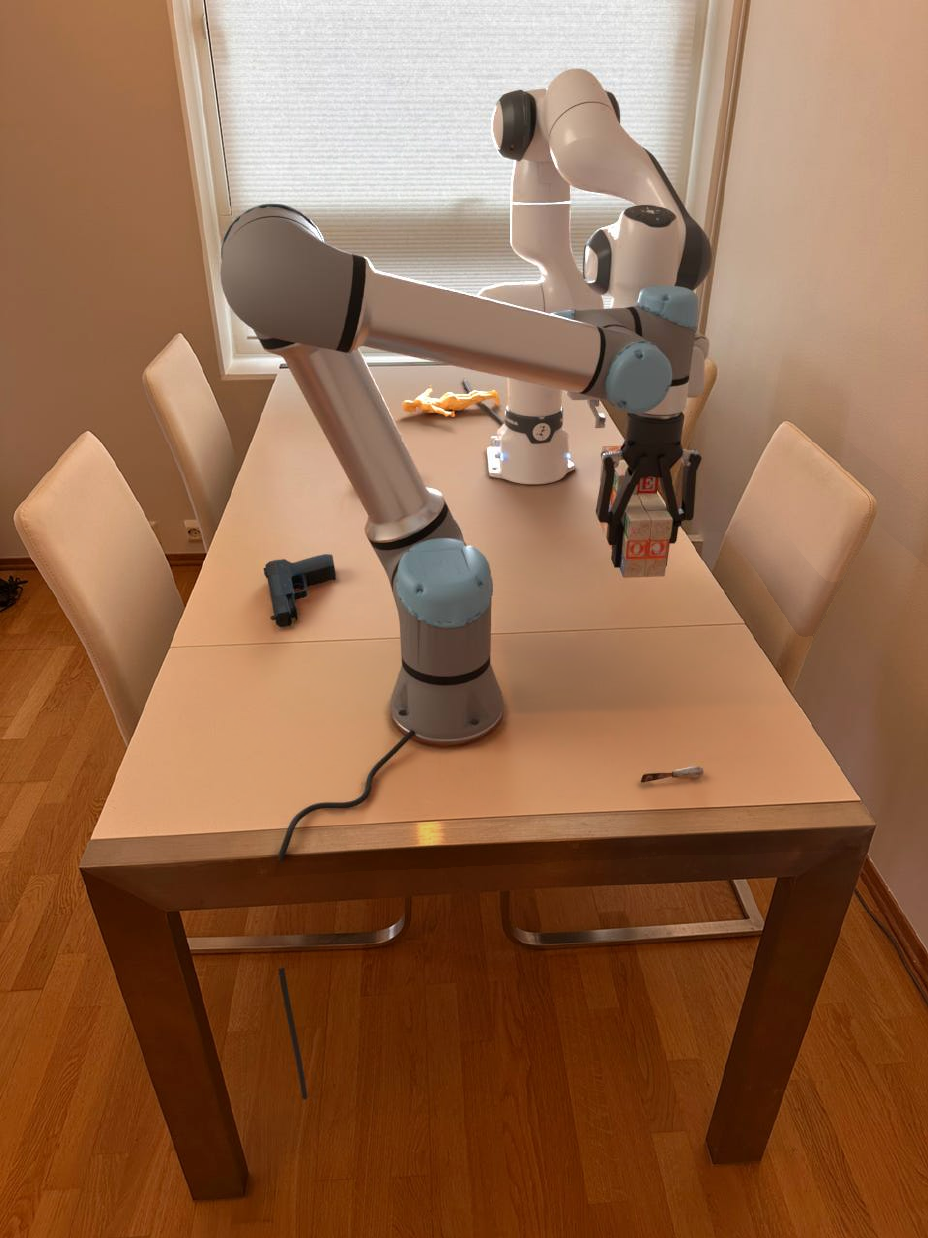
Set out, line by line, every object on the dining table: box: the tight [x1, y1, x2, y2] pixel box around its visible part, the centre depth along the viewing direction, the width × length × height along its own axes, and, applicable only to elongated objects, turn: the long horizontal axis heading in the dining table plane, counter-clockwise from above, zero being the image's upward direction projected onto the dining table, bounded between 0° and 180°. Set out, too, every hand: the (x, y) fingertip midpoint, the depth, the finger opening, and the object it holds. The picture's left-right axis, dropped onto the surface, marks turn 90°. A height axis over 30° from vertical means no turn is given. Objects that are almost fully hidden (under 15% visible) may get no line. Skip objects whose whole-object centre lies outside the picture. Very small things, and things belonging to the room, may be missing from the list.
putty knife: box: [640, 765, 705, 784], centre depth 109 cm, size 1×8×2 cm, turn 103°
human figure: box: [402, 385, 500, 418], centre depth 225 cm, size 20×20×4 cm
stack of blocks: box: [599, 445, 673, 579], centre depth 134 cm, size 21×6×12 cm, turn 3°
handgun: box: [263, 553, 337, 628], centre depth 146 cm, size 3×18×12 cm
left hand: (638, 562), depth 131 cm, fingers closed on stack of blocks, 6 cm apart
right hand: (630, 426), depth 134 cm, fingers open, 8 cm apart
